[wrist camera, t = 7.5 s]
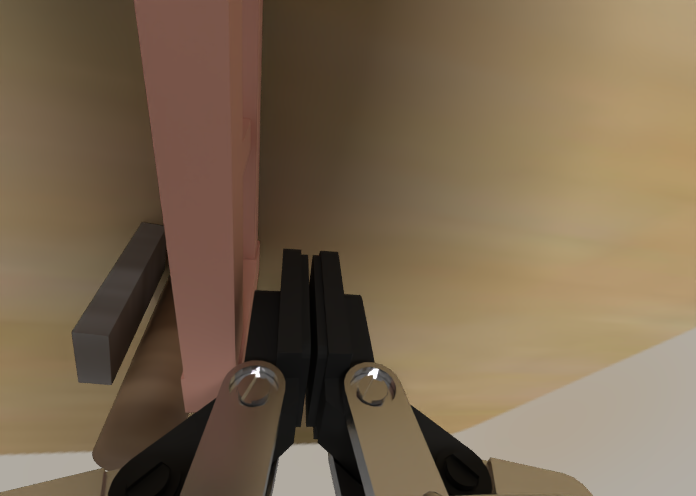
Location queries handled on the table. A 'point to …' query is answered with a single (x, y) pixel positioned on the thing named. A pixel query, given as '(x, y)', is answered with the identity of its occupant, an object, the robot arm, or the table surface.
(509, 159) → the table surface
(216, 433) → the robot arm
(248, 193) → the gate
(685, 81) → the table surface
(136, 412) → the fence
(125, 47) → the table surface
